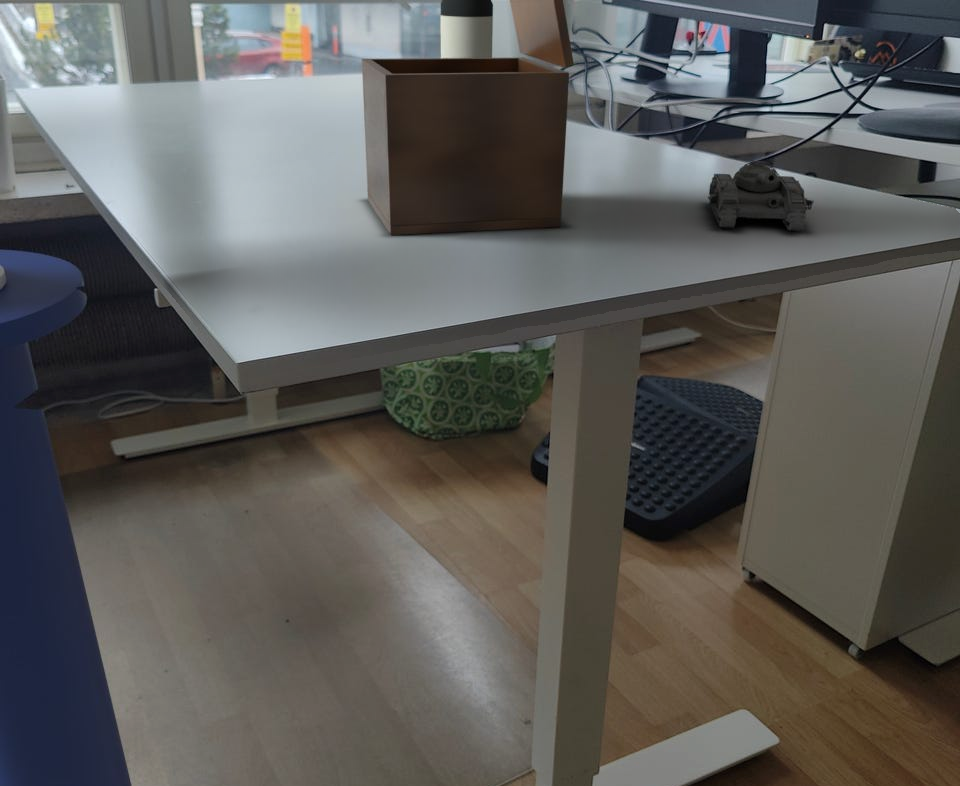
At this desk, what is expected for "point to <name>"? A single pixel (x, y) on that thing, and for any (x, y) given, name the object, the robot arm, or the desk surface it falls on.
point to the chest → (464, 143)
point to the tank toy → (758, 196)
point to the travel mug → (466, 28)
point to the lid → (543, 30)
